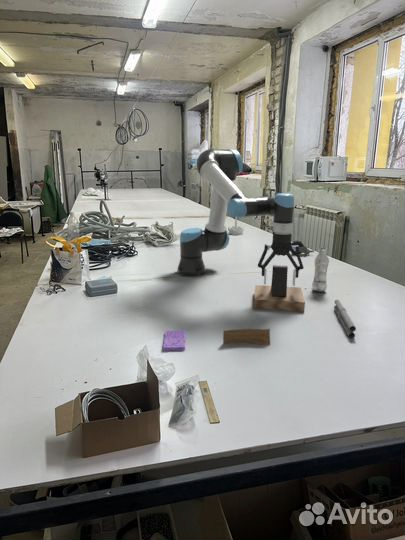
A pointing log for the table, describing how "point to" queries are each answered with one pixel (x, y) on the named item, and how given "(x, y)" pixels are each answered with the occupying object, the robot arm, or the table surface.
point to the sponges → (174, 340)
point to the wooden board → (279, 299)
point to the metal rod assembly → (345, 319)
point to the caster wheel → (300, 248)
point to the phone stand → (279, 281)
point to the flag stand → (236, 229)
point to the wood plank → (247, 336)
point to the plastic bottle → (320, 271)
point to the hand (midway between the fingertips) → (279, 284)
